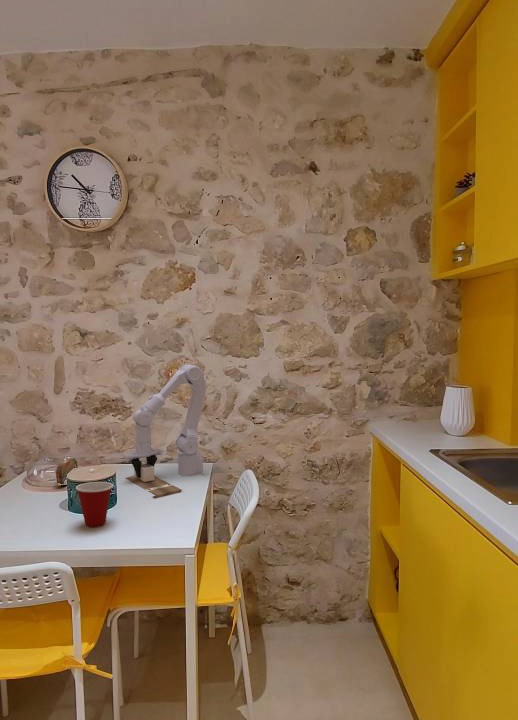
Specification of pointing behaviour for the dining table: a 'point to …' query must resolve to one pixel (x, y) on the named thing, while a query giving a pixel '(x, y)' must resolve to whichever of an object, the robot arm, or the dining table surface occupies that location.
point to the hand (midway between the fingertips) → (144, 476)
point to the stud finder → (146, 472)
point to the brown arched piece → (65, 469)
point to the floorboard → (156, 486)
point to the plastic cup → (94, 502)
